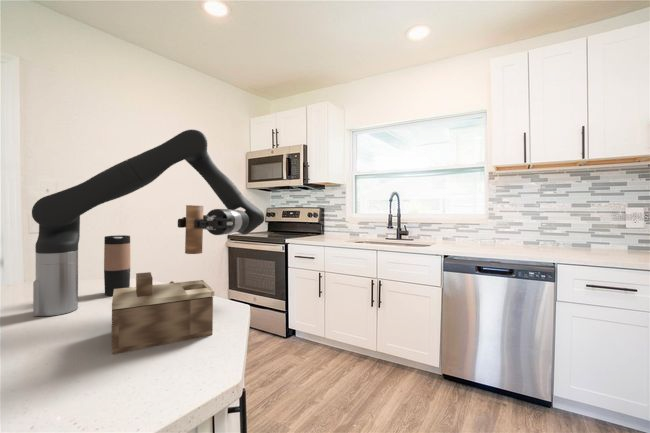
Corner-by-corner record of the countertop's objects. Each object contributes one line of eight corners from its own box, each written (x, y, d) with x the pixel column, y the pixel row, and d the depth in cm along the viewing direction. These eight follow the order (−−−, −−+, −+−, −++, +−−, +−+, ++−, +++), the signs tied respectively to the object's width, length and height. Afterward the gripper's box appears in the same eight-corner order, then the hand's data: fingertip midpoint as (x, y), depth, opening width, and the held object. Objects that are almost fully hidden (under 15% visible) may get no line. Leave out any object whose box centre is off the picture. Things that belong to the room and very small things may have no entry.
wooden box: (111, 354, 63) (111, 311, 63) (113, 331, 75) (113, 294, 75) (212, 334, 74) (212, 297, 74) (200, 317, 86) (200, 284, 86)
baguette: (186, 254, 75) (187, 205, 75) (183, 252, 79) (185, 205, 78) (203, 253, 77) (204, 205, 77) (200, 251, 81) (201, 205, 80)
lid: (111, 309, 63) (111, 284, 63) (113, 293, 75) (114, 272, 75) (214, 296, 74) (214, 274, 74) (202, 284, 86) (202, 265, 86)
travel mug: (116, 289, 112) (116, 235, 112) (135, 291, 111) (135, 235, 111) (98, 295, 105) (98, 236, 104) (118, 296, 103) (118, 237, 103)
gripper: (203, 208, 93) (162, 207, 76) (246, 209, 90) (213, 209, 73) (202, 233, 93) (161, 237, 77) (246, 235, 90) (213, 240, 74)
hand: (187, 223), depth 75 cm, fingers closed on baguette, 4 cm apart
